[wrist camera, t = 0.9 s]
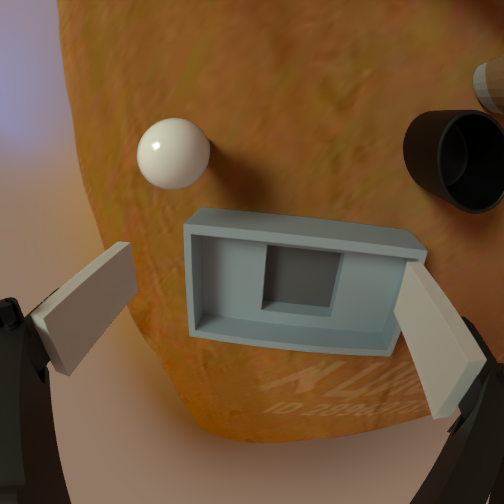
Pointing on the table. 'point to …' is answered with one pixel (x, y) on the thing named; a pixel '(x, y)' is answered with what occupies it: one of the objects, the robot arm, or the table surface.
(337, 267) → the socket box
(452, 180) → the mug
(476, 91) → the coffee cup
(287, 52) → the table surface
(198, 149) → the lightbulb
